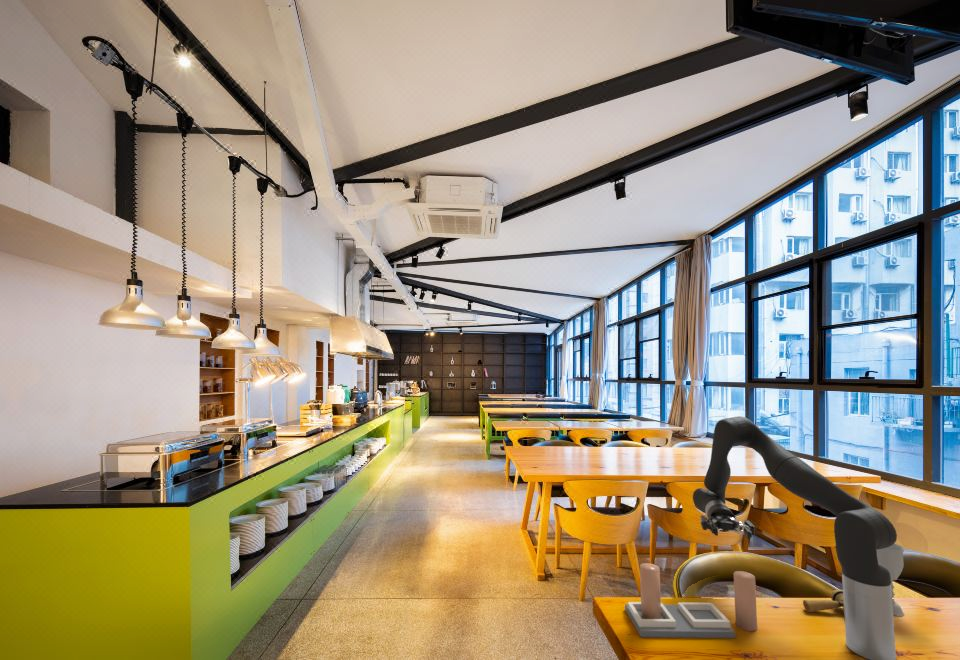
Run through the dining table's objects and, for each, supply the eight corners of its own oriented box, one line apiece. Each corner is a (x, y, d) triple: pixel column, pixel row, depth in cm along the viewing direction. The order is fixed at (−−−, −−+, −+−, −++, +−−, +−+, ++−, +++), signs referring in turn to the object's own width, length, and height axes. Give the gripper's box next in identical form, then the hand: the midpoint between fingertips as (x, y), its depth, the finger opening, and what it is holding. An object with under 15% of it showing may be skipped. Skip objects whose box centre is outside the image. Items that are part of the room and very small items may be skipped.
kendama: (818, 625, 123) (888, 619, 122) (811, 599, 125) (880, 593, 124) (802, 615, 131) (868, 610, 129) (795, 591, 132) (860, 585, 131)
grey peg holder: (709, 610, 128) (707, 557, 129) (735, 637, 115) (733, 578, 116) (625, 609, 128) (623, 556, 129) (641, 637, 115) (639, 578, 116)
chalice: (883, 615, 126) (878, 548, 127) (870, 603, 132) (866, 539, 134) (915, 619, 124) (910, 551, 125) (900, 607, 130) (896, 542, 132)
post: (742, 618, 124) (740, 569, 125) (761, 628, 119) (759, 577, 121) (731, 623, 122) (729, 573, 123) (749, 633, 117) (747, 581, 118)
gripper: (695, 501, 150) (705, 518, 135) (743, 505, 146) (759, 523, 131) (696, 524, 150) (706, 544, 134) (744, 529, 146) (760, 550, 130)
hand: (732, 534), depth 132 cm, fingers open, 8 cm apart
